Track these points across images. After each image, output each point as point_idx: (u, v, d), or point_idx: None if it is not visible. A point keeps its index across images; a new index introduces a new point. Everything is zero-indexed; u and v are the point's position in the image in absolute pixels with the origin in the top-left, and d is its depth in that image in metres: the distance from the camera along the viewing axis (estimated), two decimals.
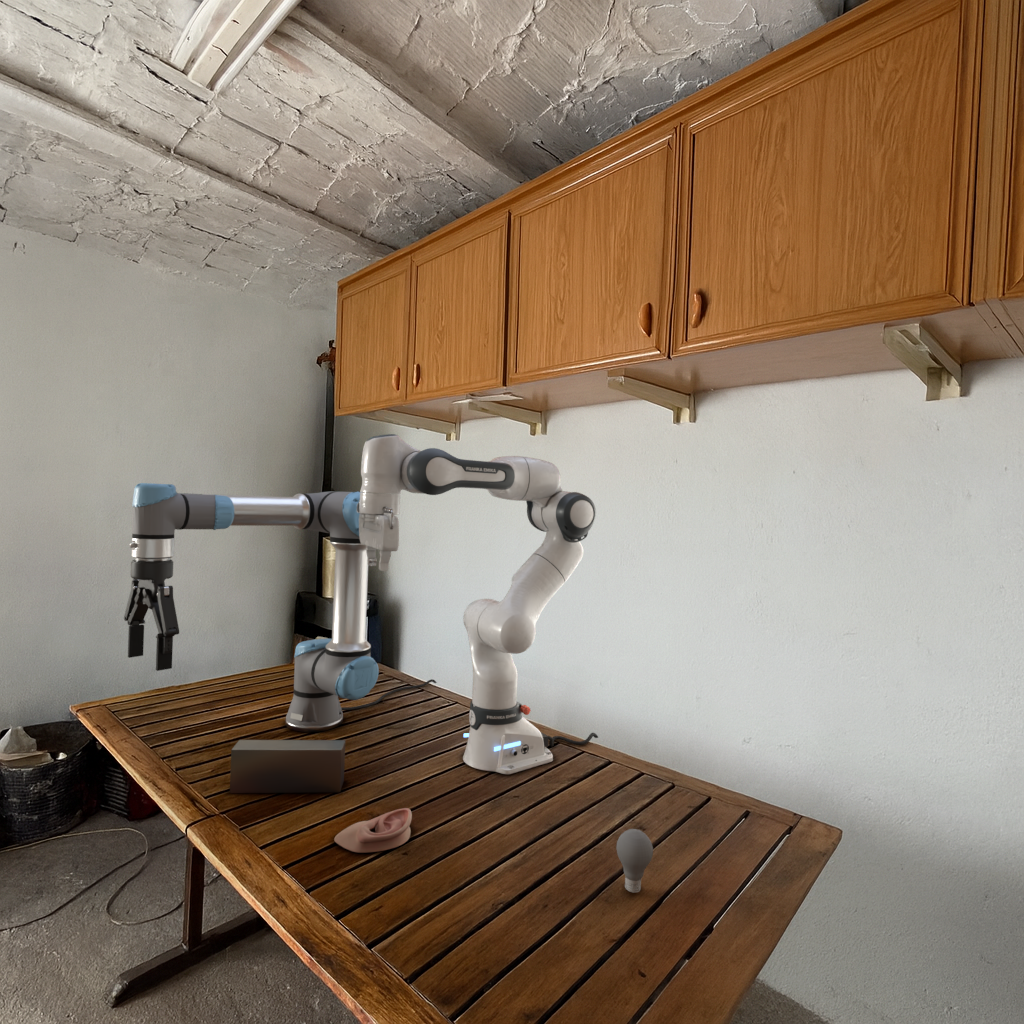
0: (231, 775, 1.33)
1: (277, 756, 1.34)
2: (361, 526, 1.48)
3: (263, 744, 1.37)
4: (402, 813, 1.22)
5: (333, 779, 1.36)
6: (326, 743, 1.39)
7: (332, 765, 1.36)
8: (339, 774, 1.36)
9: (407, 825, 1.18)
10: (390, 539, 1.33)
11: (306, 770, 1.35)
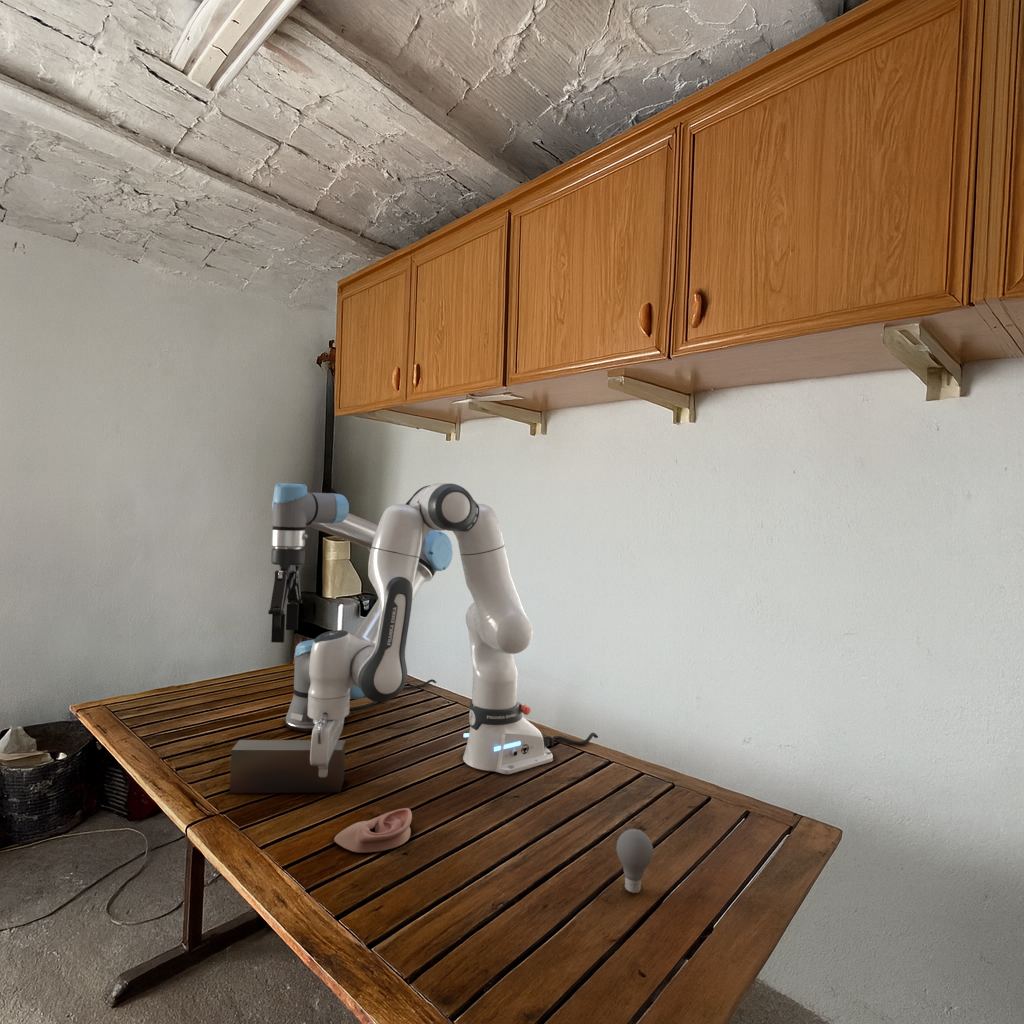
0: (231, 775, 1.33)
1: (277, 756, 1.34)
2: None
3: (263, 744, 1.37)
4: (402, 813, 1.22)
5: (333, 779, 1.36)
6: None
7: (332, 765, 1.36)
8: (339, 774, 1.36)
9: (407, 825, 1.18)
10: (317, 754, 1.28)
11: (306, 770, 1.35)
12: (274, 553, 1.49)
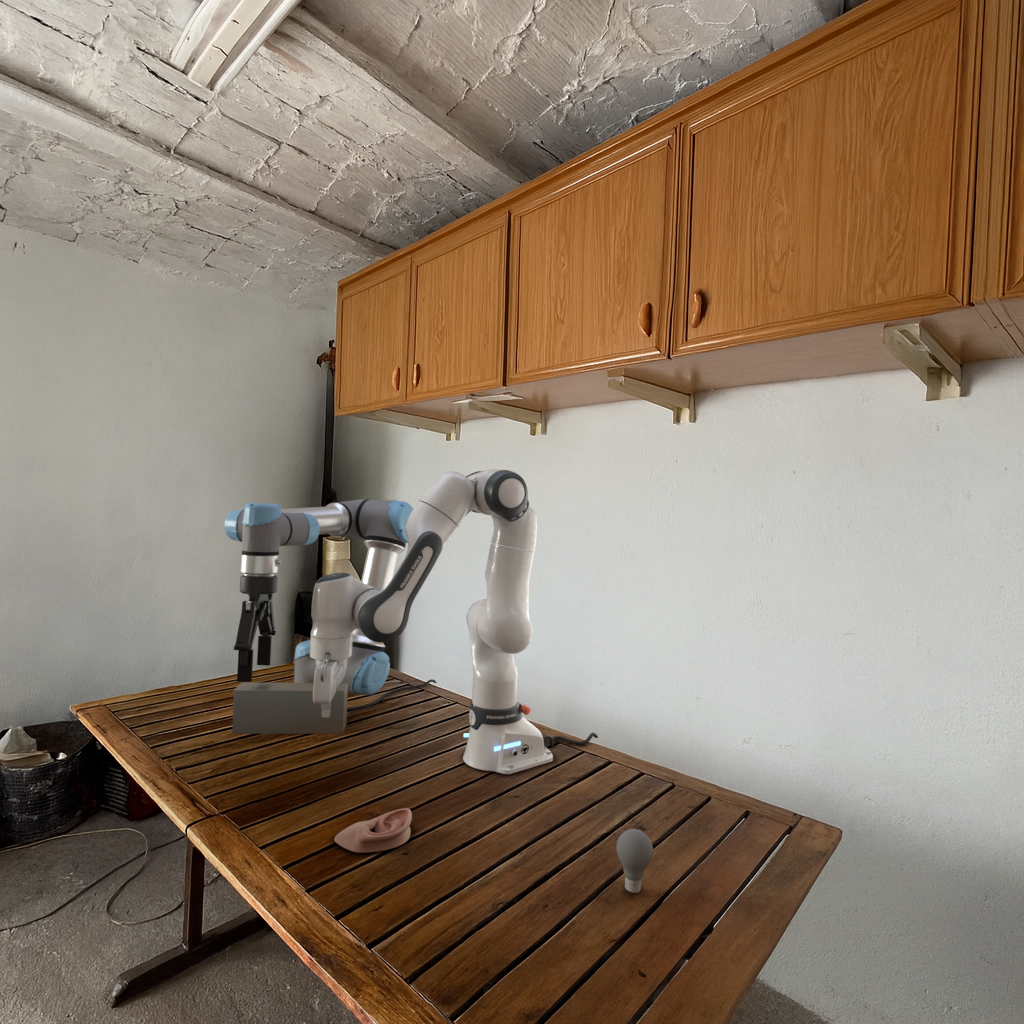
0: (234, 715, 1.33)
1: (280, 696, 1.34)
2: None
3: (265, 685, 1.37)
4: (402, 813, 1.22)
5: (336, 720, 1.36)
6: None
7: (335, 706, 1.35)
8: (342, 715, 1.36)
9: (407, 825, 1.18)
10: (320, 692, 1.28)
11: (308, 711, 1.35)
12: (243, 581, 1.33)
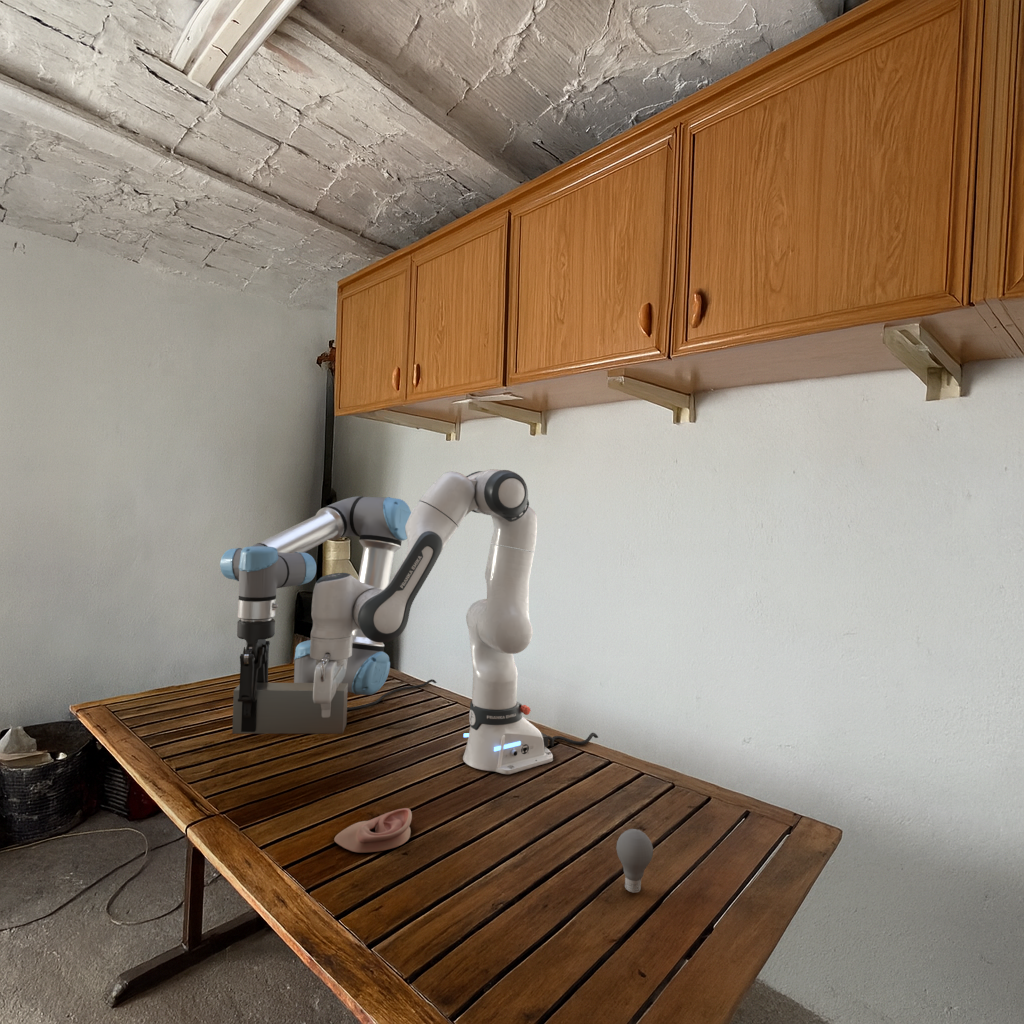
0: (234, 715, 1.33)
1: (280, 696, 1.34)
2: None
3: (265, 685, 1.37)
4: (402, 813, 1.22)
5: (336, 720, 1.36)
6: None
7: (335, 705, 1.35)
8: (342, 715, 1.36)
9: (407, 825, 1.18)
10: (320, 692, 1.28)
11: (308, 711, 1.35)
12: (240, 627, 1.33)
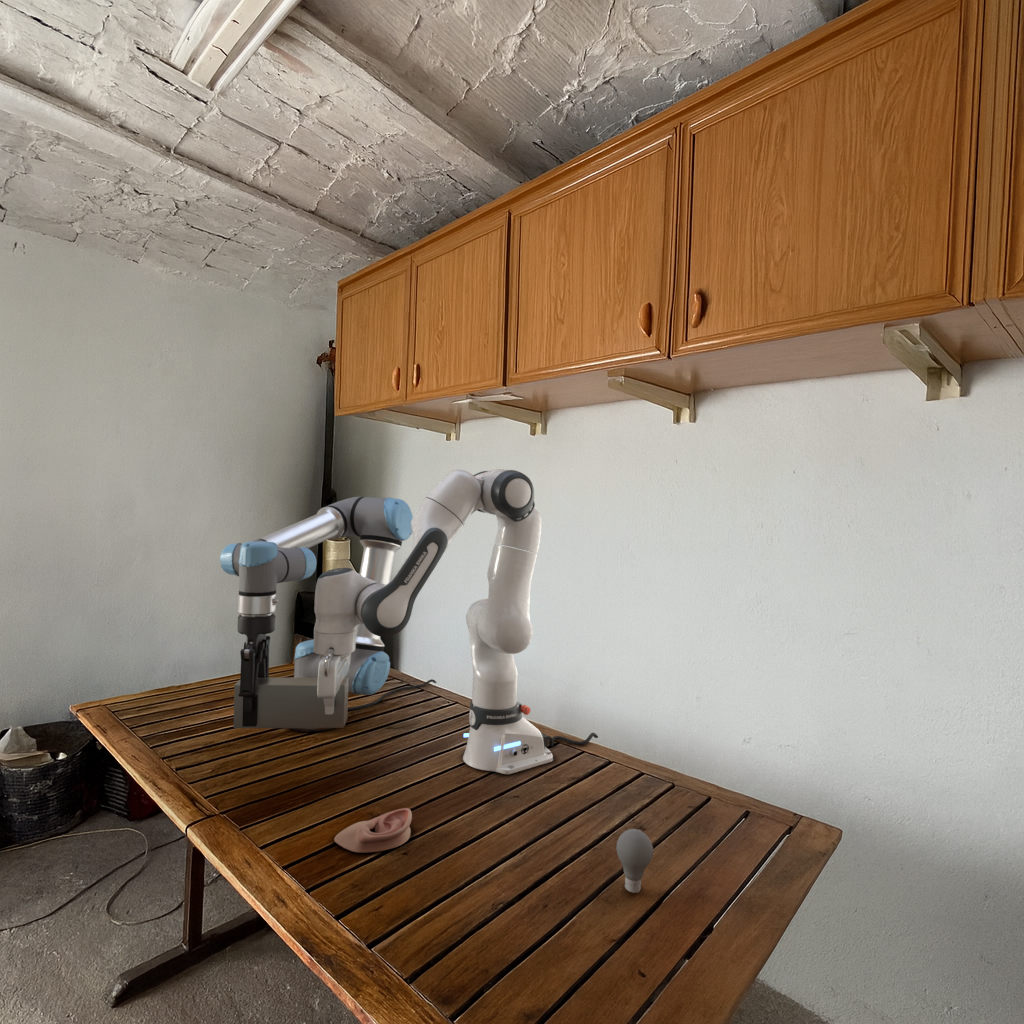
0: (235, 710, 1.33)
1: (280, 691, 1.34)
2: None
3: (266, 680, 1.37)
4: (402, 813, 1.22)
5: (337, 714, 1.36)
6: None
7: (336, 700, 1.36)
8: (343, 710, 1.36)
9: (407, 825, 1.18)
10: (324, 687, 1.28)
11: (309, 705, 1.35)
12: (241, 622, 1.33)
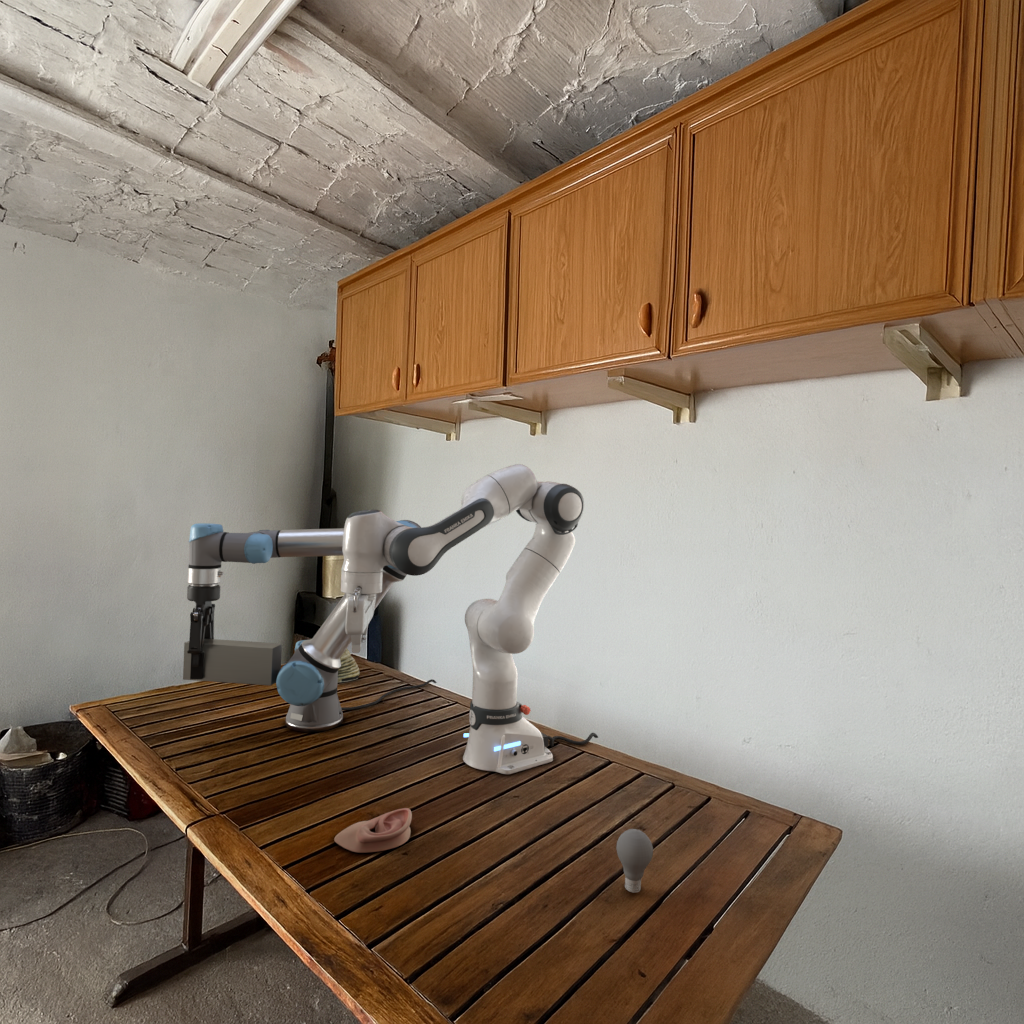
0: (184, 664, 1.58)
1: (220, 650, 1.57)
2: None
3: (212, 641, 1.61)
4: (402, 813, 1.22)
5: (266, 673, 1.57)
6: (263, 644, 1.60)
7: (265, 661, 1.57)
8: (270, 669, 1.57)
9: (407, 825, 1.18)
10: (353, 623, 1.28)
11: (243, 664, 1.57)
12: (190, 591, 1.57)
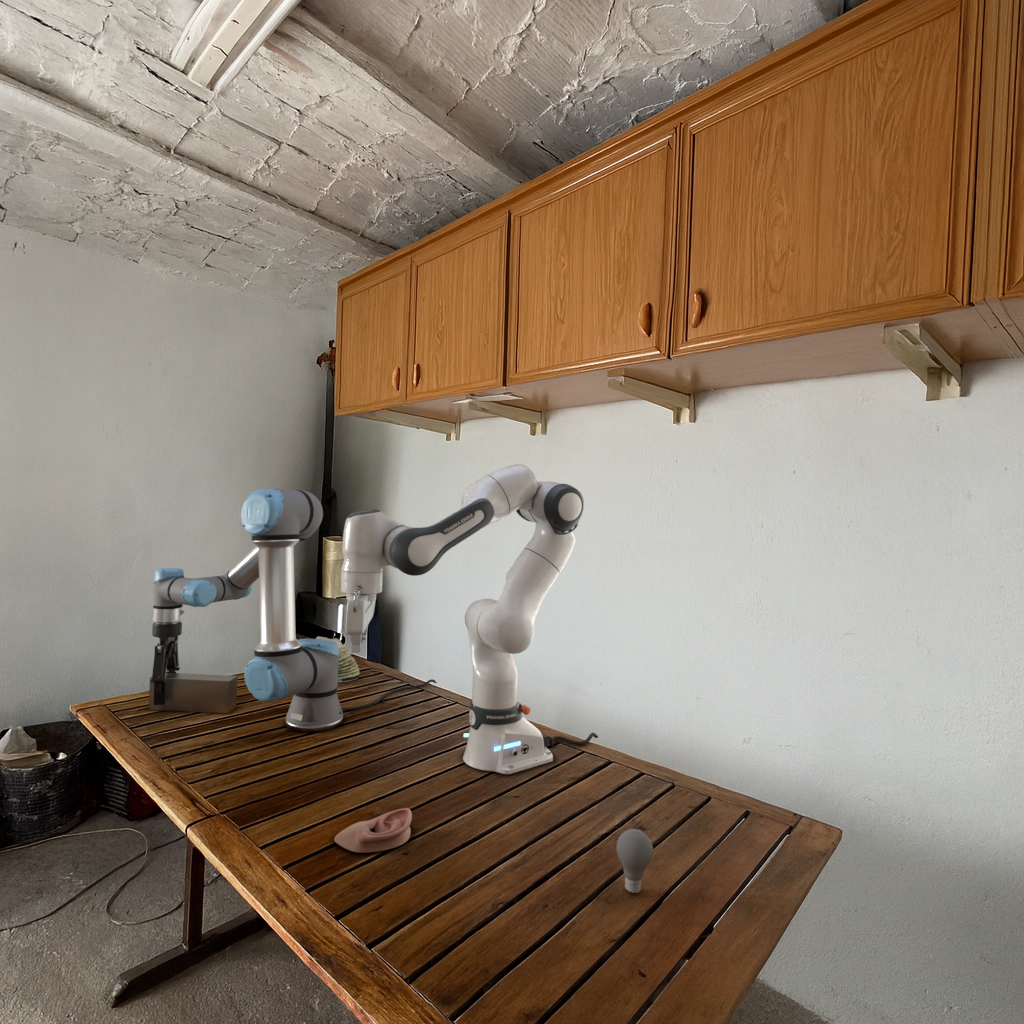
0: (149, 696, 1.81)
1: (182, 684, 1.81)
2: None
3: (175, 675, 1.84)
4: (402, 813, 1.22)
5: (223, 703, 1.81)
6: (221, 677, 1.84)
7: (222, 692, 1.81)
8: (227, 699, 1.81)
9: (407, 825, 1.18)
10: (353, 623, 1.28)
11: (203, 695, 1.81)
12: (155, 628, 1.80)
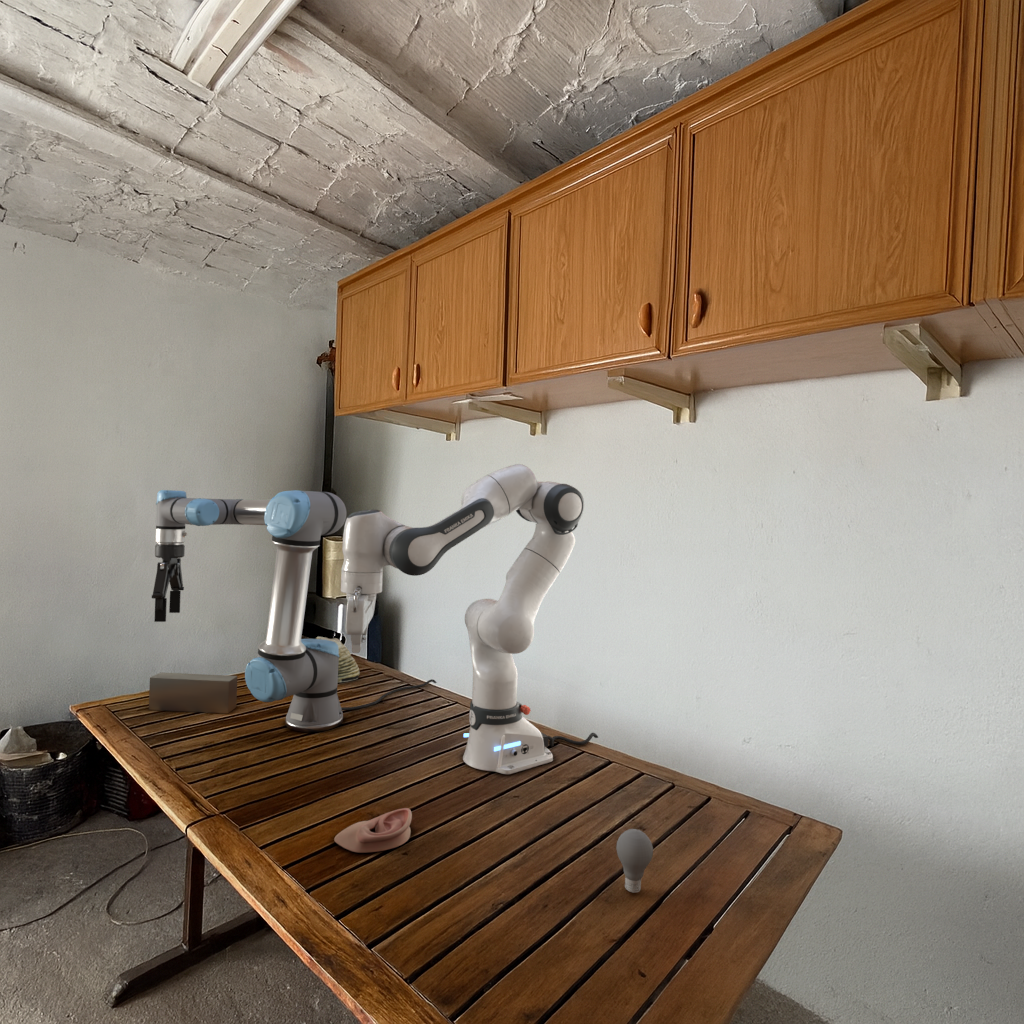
0: (149, 696, 1.81)
1: (182, 684, 1.81)
2: None
3: (175, 675, 1.84)
4: (402, 813, 1.22)
5: (223, 703, 1.81)
6: (221, 677, 1.84)
7: (222, 692, 1.81)
8: (227, 699, 1.81)
9: (407, 825, 1.18)
10: (353, 623, 1.28)
11: (203, 695, 1.81)
12: (157, 548, 1.79)
